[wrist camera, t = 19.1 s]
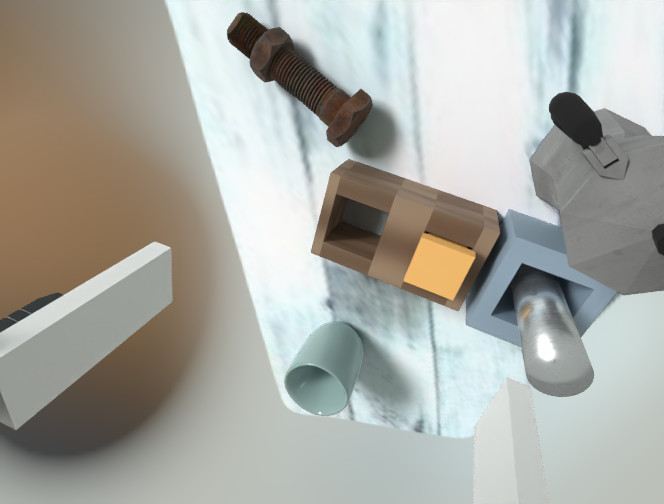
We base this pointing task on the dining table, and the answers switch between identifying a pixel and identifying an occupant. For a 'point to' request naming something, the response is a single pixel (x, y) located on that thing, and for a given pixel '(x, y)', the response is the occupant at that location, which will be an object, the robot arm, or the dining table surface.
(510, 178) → the dining table surface
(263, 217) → the dining table surface
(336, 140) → the bolt
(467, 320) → the block
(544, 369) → the brushed steel rod
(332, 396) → the cup
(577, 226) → the coffeepot
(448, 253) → the release button
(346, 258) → the socket block
